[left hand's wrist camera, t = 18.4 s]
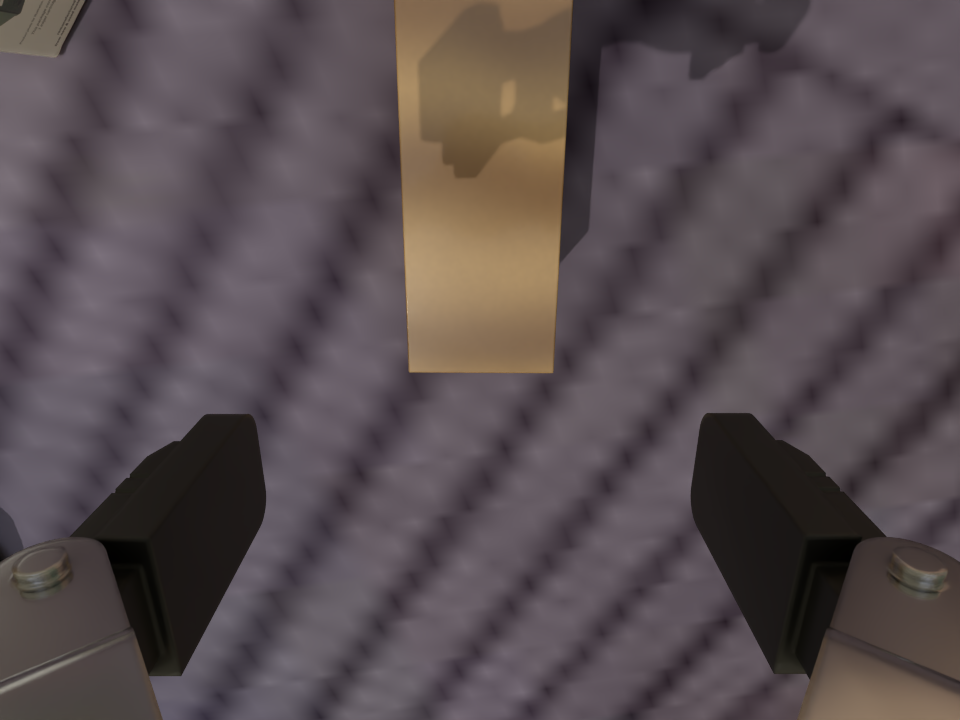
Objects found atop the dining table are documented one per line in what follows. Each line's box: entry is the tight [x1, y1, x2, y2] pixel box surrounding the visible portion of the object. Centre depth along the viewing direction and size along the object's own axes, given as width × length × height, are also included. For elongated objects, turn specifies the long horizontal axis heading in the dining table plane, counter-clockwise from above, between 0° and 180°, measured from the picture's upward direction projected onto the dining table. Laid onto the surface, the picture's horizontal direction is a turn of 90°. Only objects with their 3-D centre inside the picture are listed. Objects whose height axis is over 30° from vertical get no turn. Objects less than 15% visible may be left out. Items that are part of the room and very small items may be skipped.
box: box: [394, 0, 573, 373], centre depth 26 cm, size 26×6×11 cm, turn 0°
